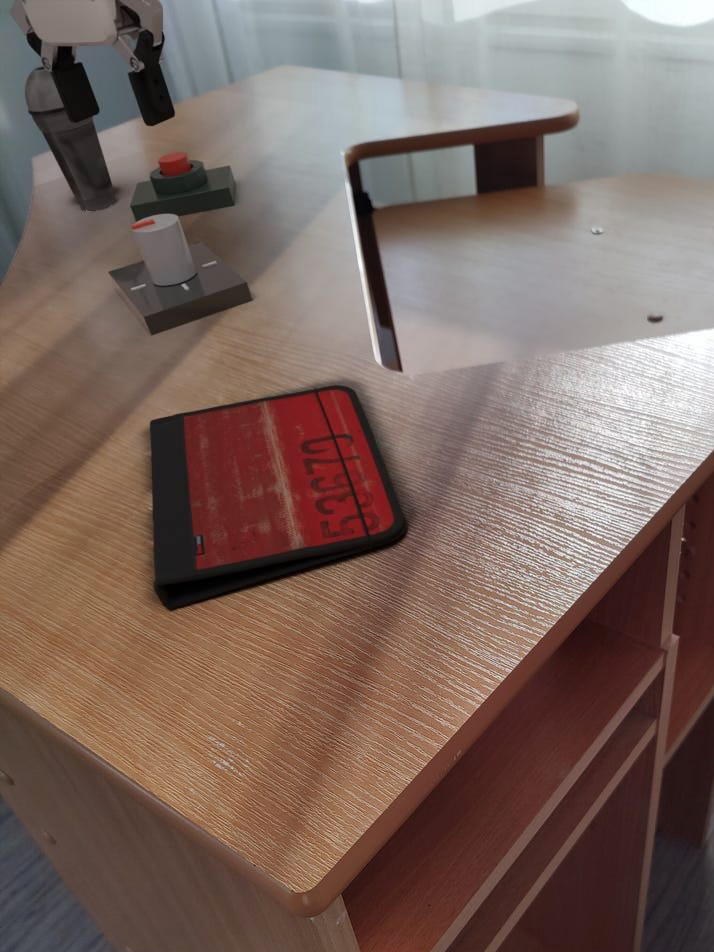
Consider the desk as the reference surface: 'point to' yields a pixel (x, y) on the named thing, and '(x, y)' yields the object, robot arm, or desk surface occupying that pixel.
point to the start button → (174, 163)
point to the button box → (184, 192)
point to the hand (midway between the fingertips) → (122, 119)
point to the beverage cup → (70, 143)
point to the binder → (265, 491)
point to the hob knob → (164, 249)
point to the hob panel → (181, 292)
